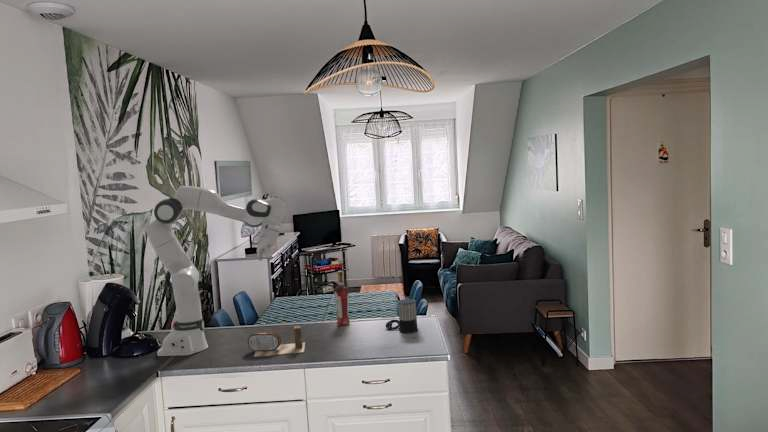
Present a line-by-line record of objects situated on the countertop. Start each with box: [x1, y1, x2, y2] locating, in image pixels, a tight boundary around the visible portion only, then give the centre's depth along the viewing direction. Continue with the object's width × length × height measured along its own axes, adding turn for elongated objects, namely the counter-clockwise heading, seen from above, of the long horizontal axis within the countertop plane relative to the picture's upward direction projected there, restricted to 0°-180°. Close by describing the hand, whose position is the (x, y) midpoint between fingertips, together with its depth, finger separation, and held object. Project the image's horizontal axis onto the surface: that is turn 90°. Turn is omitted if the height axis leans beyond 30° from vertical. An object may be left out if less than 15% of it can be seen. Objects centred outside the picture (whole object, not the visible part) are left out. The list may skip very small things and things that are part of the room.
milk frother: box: [385, 298, 419, 334], centre depth 282 cm, size 14×16×15 cm
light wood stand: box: [253, 325, 306, 358], centre depth 261 cm, size 22×14×10 cm, turn 96°
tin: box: [247, 331, 282, 352], centre depth 260 cm, size 15×3×8 cm, turn 84°
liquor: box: [333, 270, 351, 327], centre depth 297 cm, size 7×7×28 cm
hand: (262, 258), depth 267 cm, fingers open, 8 cm apart
